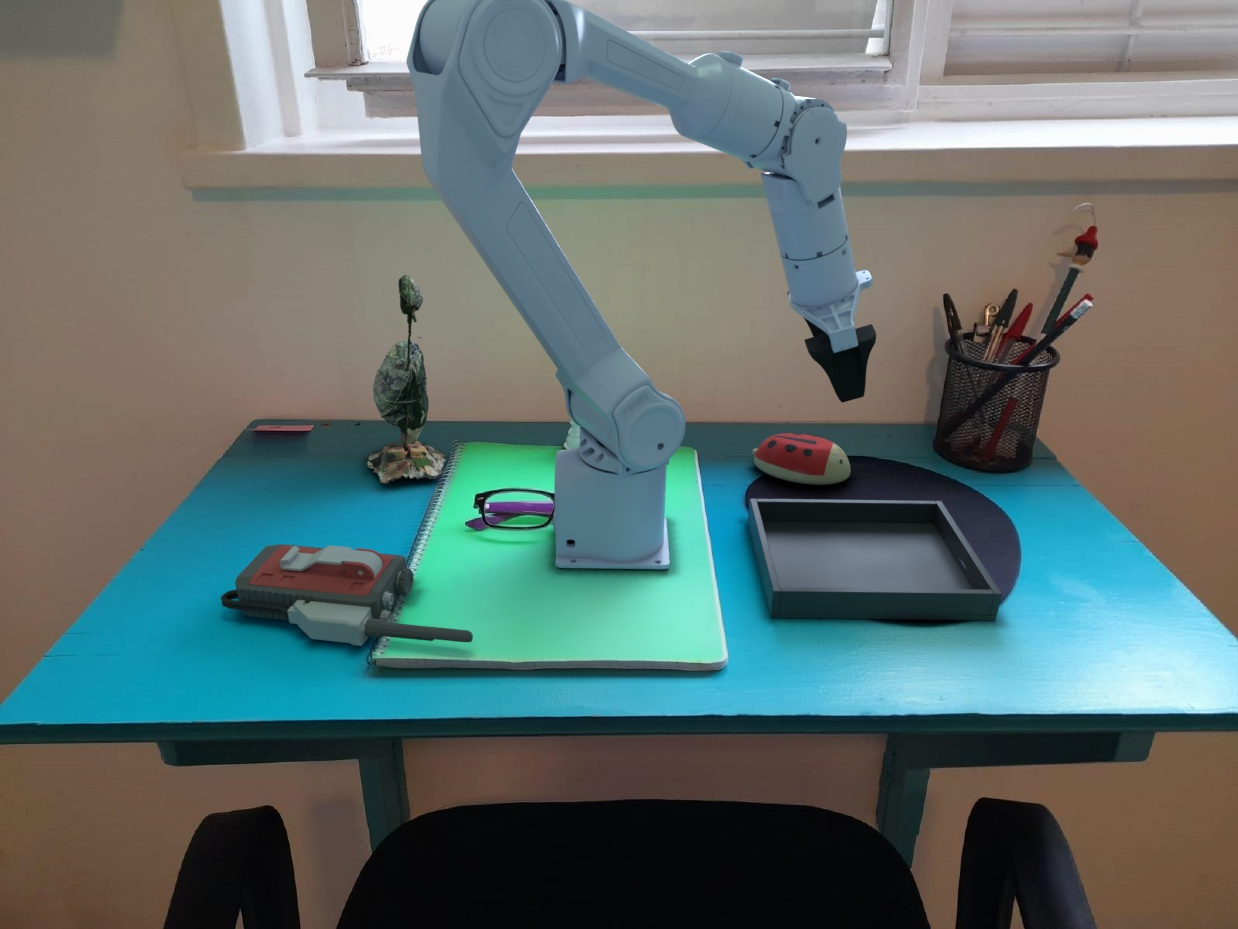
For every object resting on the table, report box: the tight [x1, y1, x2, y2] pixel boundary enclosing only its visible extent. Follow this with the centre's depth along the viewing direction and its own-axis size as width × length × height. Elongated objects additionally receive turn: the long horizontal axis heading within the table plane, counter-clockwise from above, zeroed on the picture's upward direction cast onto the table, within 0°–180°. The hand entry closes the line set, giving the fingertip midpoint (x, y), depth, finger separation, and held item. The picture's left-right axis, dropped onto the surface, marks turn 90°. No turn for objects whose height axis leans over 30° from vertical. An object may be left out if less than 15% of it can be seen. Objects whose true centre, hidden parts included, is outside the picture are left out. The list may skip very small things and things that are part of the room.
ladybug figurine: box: [751, 432, 851, 486], centre depth 87 cm, size 7×10×4 cm
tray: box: [747, 498, 1003, 622], centre depth 72 cm, size 17×14×2 cm
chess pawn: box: [563, 413, 580, 450], centre depth 91 cm, size 3×3×5 cm
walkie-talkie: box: [220, 543, 474, 647], centre depth 66 cm, size 9×4×20 cm
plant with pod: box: [366, 273, 447, 484], centre depth 84 cm, size 8×11×20 cm
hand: (842, 374), depth 80 cm, fingers open, 7 cm apart
